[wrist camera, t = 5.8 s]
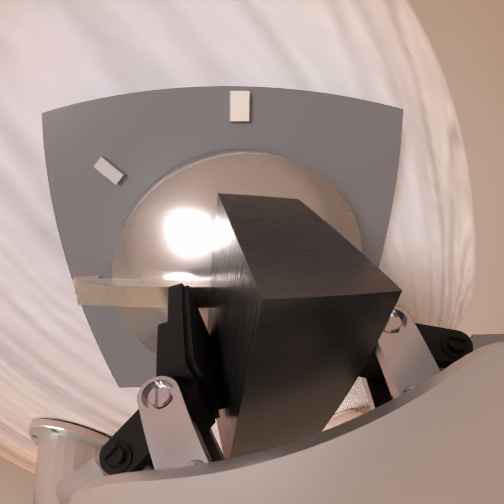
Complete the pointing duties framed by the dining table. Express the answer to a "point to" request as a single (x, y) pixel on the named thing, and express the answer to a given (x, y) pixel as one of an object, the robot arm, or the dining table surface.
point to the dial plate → (193, 145)
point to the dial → (255, 288)
